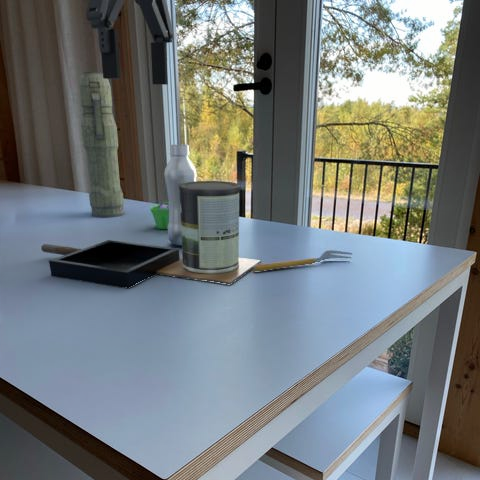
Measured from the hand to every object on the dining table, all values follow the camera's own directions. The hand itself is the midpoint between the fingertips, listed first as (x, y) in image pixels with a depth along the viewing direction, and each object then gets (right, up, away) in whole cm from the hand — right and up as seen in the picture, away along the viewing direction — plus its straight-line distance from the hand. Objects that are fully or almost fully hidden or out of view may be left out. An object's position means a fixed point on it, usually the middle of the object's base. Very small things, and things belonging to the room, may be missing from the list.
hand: (137, 82), depth 79 cm
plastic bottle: (+5, -24, +22) cm, 33 cm away
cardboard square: (+12, -30, +6) cm, 33 cm away
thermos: (-20, -10, +53) cm, 57 cm away
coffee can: (+12, -30, +6) cm, 33 cm away
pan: (-9, -30, +8) cm, 32 cm away
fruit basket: (+2, -17, +38) cm, 42 cm away
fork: (+29, -30, +8) cm, 42 cm away
